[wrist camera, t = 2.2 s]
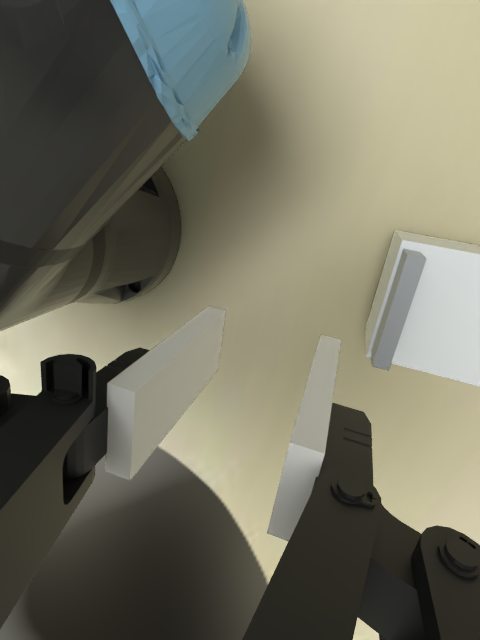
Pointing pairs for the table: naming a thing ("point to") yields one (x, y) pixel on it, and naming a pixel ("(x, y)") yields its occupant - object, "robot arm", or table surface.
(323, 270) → the table surface
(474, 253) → the white chamfered box
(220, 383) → the table surface
